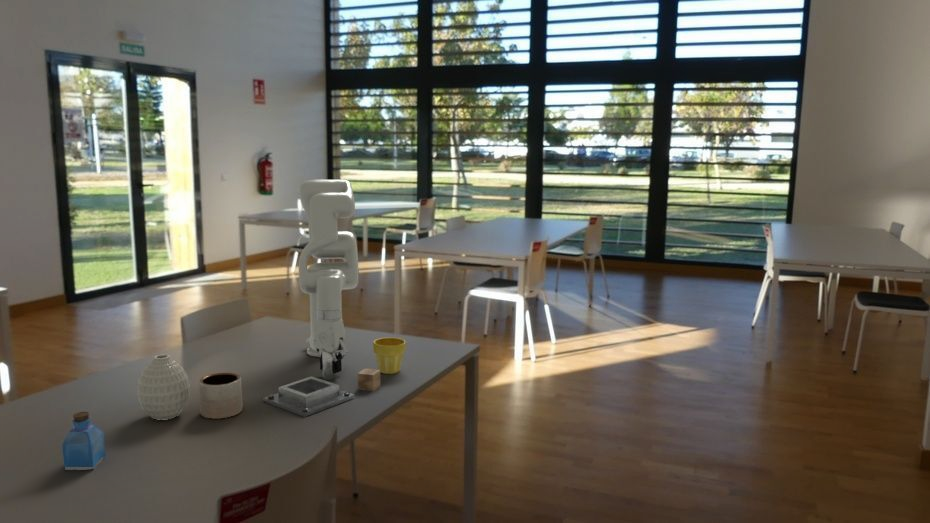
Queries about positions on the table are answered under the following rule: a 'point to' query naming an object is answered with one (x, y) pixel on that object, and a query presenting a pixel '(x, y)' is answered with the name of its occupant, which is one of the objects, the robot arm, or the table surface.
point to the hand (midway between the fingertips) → (330, 369)
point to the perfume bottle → (83, 443)
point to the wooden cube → (369, 379)
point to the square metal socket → (308, 396)
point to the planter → (220, 395)
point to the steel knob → (328, 365)
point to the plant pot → (389, 354)
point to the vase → (163, 388)
